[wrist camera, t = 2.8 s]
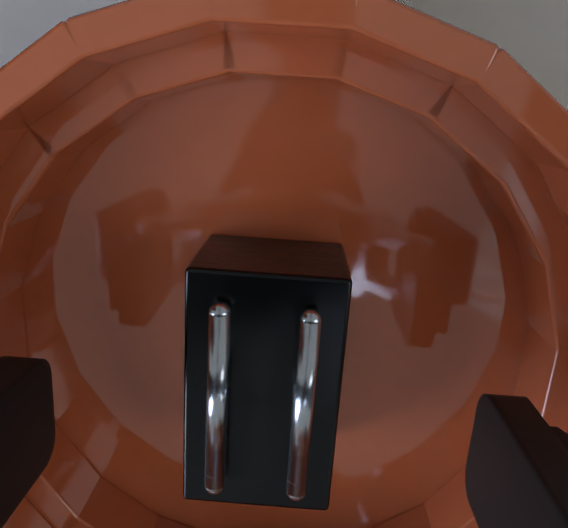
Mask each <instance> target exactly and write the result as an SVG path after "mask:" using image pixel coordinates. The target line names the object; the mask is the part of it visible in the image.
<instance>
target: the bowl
mask: <svg viewBox="0 0 568 528" xmlns="http://www.w3.org/2000/svg"><path fill="white" fill-rule="evenodd" d="M213 234H214V235H228V236H243V237H257V238H271V239H285V240H299V241H313V242H327V243H340V244H342V245H343V247H344V251H345V255H346V259H347V263H348V267H349V271H350V275H351V279H352V293H351V302H350V311H349V321H348V330H347V340H346V349H345V359H344V368H343V378H342V387H341V397H340V406H339V416H338V425H337V435H336V444H335V454H334V463H333V473H332V482H331V491H330V501H329V507H328V509H327V510H325V511H322V510H310V509H298V508H285V507H273V506H261V505H249V504H237V503H225V502H213V501H200V500H188V499H185V498H184V496H183V428H184V319H185V270H186V268H187V266H188V265H189V264H190V262H191V261H192V259H193V258H194V257H195V255H196V254H197V253H198V251H199V250H200V248H201V247H202V246H203V244H204V243H205V242H206V240H207V239H208V237H209V236H210V235H213ZM2 356H15V357H28V358H41V359H46V360H47V361H48V362H49V364H50V367H51V372H52V386H53V401H54V417H55V444H54V448H53V452H52V455H51V458H50V460H49V463H48V465H47V466H46V468H45V469H44V471H43V472H42V473H41V475H40V476H39V478H38V479H37V480H36V482H35V483H34V485H33V486H32V487H31V489H30V490H29V491H28V493H27V494H26V496H25V497H24V498H23V500H22V501H21V503H20V504H19V505H18V507H17V508H16V509H15V511H14V512H13V514H12V515H11V516H10V518H9V519H8V520H7V522H6V523H5V525H4V526H3V527H2V528H479V527H478V524H477V522H476V520H475V517H474V515H473V512H472V510H471V507H470V505H469V502H468V498H467V494H466V487H465V468H466V462H467V456H468V451H469V445H470V440H471V435H472V429H473V424H474V418H475V413H476V408H477V403H478V400H479V398H480V397H481V395H482V394H497V395H510V396H523V397H527V398H528V399H529V400H530V401H531V402H532V404H533V405H534V406H535V408H536V409H537V410H538V412H539V413H540V414H541V416H542V417H543V418H544V419H545V421H546V422H547V423H548V425H549V426H554V427H559V428H560V429H561V430H563V431H564V432H566V433H567V434H568V110H567V109H566V108H564V107H563V106H562V105H561V104H560V103H559V102H558V101H557V100H556V99H555V98H554V97H553V96H552V95H551V94H550V93H549V92H548V91H547V90H546V89H545V88H544V87H543V86H542V85H541V84H540V83H538V82H537V81H536V80H535V79H534V78H533V77H532V76H531V75H530V74H529V73H528V72H527V71H526V70H525V69H524V68H523V67H522V66H521V65H520V64H519V63H518V62H517V61H516V60H515V59H514V58H513V57H511V56H510V55H509V54H508V53H507V52H506V51H505V50H504V49H499V47H498V46H497V45H496V44H495V43H492V42H490V41H488V40H485V39H483V38H481V37H478V36H476V35H474V34H471V33H469V32H467V31H465V30H462V29H460V28H458V27H455V26H453V25H451V24H448V23H446V22H444V21H442V20H439V19H437V18H435V17H432V16H430V15H428V14H425V13H423V12H421V11H419V10H416V9H414V8H412V7H409V6H407V5H405V4H402V3H400V2H398V1H395V0H126V1H123V2H120V3H116V4H113V5H110V6H106V7H103V8H100V9H96V10H93V11H90V12H86V13H83V14H80V15H76V16H73V17H70V18H68V19H67V20H66V21H63V22H60V23H59V24H58V25H56V26H55V27H54V28H52V29H51V30H50V31H49V32H47V33H46V34H45V35H43V36H42V37H41V38H39V39H38V40H37V41H36V42H34V43H33V44H32V45H30V46H29V47H28V48H26V49H25V50H24V51H22V52H21V53H20V54H19V55H17V56H16V57H15V58H13V59H12V60H11V61H9V62H8V63H7V64H6V65H4V66H3V67H2V68H0V357H2Z"/></svg>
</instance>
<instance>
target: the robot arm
mask: <svg viewBox="0 0 568 528" xmlns="http://www.w3.org/2000/svg"><path fill="white" fill-rule="evenodd" d="M54 444H55V417H54V401H53V386H52V372H51V367H50V364H49V362H48V361H47V360H46V359H41V358H28V357H15V356H2V357H0V528H2V527H3V526H4V525H5V523H6V522H7V520H8V519H9V518H10V516H11V515H12V514H13V512H14V511H15V509H16V508H17V507H18V505H19V504H20V503H21V501H22V500H23V498H24V497H25V496H26V494H27V493H28V491H29V490H30V489H31V487H32V486H33V485H34V483H35V482H36V480H37V479H38V478H39V476H40V475H41V473H42V472H43V471H44V469H45V468H46V466H47V465H48V463H49V460H50V458H51V455H52V452H53V448H54ZM465 487H466V494H467V498H468V502H469V505H470V507H471V510H472V512H473V515H474V517H475V520H476V522H477V524H478V527H479V528H568V434H567V433H566V432H564V431H563V430H561V429H560V428H559V427H554V426H549V425H548V423H547V422H546V421H545V419H544V418H543V417H542V416H541V414H540V413H539V412H538V410H537V409H536V408H535V406H534V405H533V404H532V402H531V401H530V400H529V399H528V398H527V397H523V396H510V395H497V394H482V395H481V397H480V398H479V400H478V403H477V408H476V413H475V418H474V424H473V429H472V435H471V440H470V445H469V451H468V456H467V462H466V468H465Z"/></svg>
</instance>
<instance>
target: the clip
mask: <svg viewBox="0 0 568 528" xmlns="http://www.w3.org/2000/svg"><path fill="white" fill-rule="evenodd" d="M351 293H352V279H351V275H350V271H349V267H348V263H347V259H346V255H345V251H344V247H343V245H342V244H340V243H327V242H313V241H299V240H285V239H271V238H257V237H243V236H228V235H214V234H213V235H210V236H209V237H208V239H207V240H206V242H205V243H204V244H203V246H202V247H201V248H200V250H199V251H198V253H197V254H196V255H195V257H194V258H193V259H192V261H191V262H190V264H189V265H188V266H187V268H186V270H185V319H184V428H183V496H184V498H185V499H188V500H200V501H213V502H225V503H237V504H249V505H261V506H273V507H285V508H298V509H310V510H322V511H325V510H327V509H328V507H329V501H330V491H331V482H332V473H333V463H334V454H335V444H336V435H337V425H338V416H339V406H340V397H341V387H342V378H343V368H344V359H345V349H346V340H347V330H348V321H349V311H350V302H351Z"/></svg>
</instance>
